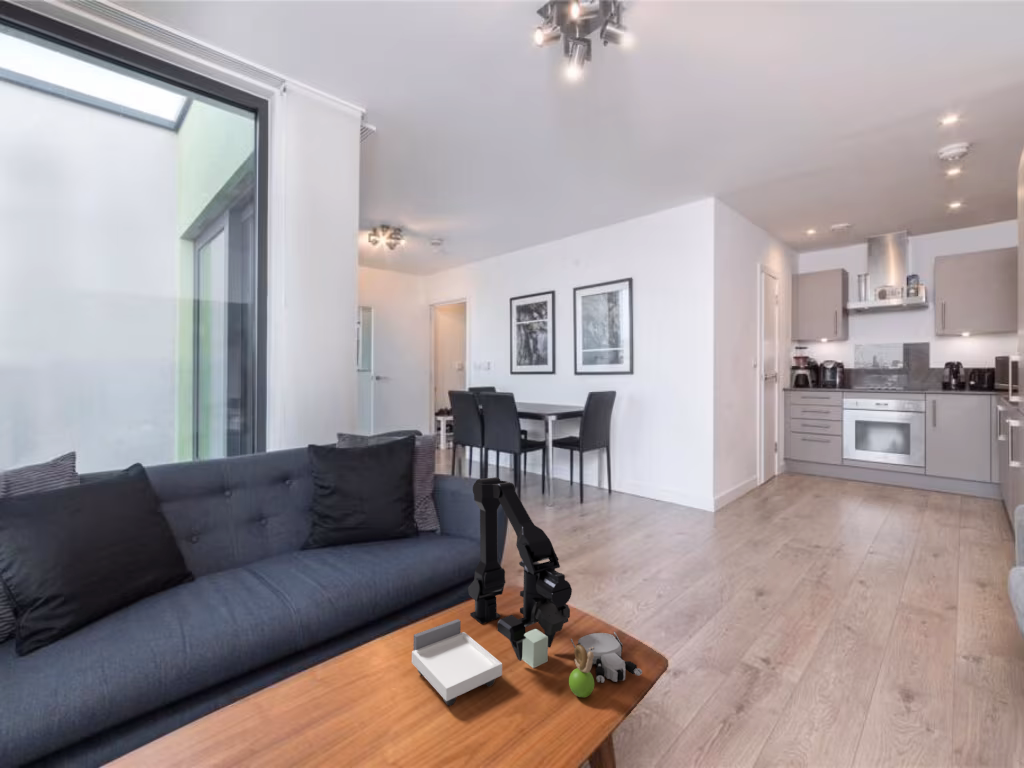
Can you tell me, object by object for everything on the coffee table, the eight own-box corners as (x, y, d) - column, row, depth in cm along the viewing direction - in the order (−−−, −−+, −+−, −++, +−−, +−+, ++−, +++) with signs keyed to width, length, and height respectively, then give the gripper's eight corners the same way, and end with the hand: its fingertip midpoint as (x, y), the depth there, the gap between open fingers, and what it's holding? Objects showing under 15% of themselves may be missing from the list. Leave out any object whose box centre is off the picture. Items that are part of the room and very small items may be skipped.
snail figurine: (581, 709, 95) (582, 651, 95) (563, 691, 101) (564, 636, 101) (602, 701, 98) (603, 644, 97) (584, 683, 103) (584, 630, 103)
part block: (521, 659, 112) (521, 634, 112) (535, 652, 115) (535, 628, 115) (533, 668, 109) (533, 642, 109) (547, 661, 111) (547, 636, 111)
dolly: (409, 670, 107) (409, 636, 107) (461, 649, 116) (461, 617, 116) (446, 713, 94) (446, 673, 93) (501, 686, 102) (502, 649, 102)
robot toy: (645, 685, 104) (612, 644, 119) (646, 666, 104) (613, 627, 118) (596, 695, 101) (568, 651, 115) (597, 676, 100) (569, 634, 115)
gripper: (526, 614, 100) (525, 686, 100) (586, 590, 111) (585, 655, 111) (496, 594, 108) (495, 660, 109) (554, 575, 120) (554, 635, 120)
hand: (534, 653), depth 112 cm, fingers open, 9 cm apart
